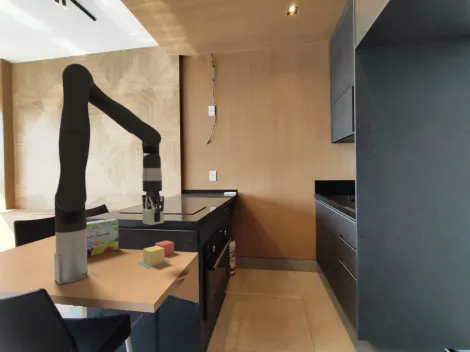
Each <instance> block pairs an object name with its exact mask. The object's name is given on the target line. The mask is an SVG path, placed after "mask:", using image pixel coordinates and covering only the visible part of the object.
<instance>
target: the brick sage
mask: <svg viewBox="0 0 470 352" xmlns="http://www.w3.org/2000/svg"><path fill="white" fill-rule="evenodd" d="M156 209H157V207H156ZM164 210H165V209H164ZM164 210H163V211H161V212H160V222H155V221H154V213H155V212H154V209H153V208H152V209H142V224H144V225H149V226H153V225H158V224H163V223H165V219H164V218H165V215H164V214H165V212H164Z"/></svg>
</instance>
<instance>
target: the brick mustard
mask: <svg viewBox="0 0 470 352" xmlns="http://www.w3.org/2000/svg"><path fill="white" fill-rule="evenodd" d="M142 252H143V254H142V255H143V261H144V263H146V264H148V265H150V266H153V265H156V264H159V263H162V262H165V259H166V258H165V256H166V255H164V248H162V247H159V246H155V245H154V246H149V247H144V248H143V249H142Z"/></svg>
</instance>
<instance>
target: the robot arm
mask: <svg viewBox="0 0 470 352" xmlns="http://www.w3.org/2000/svg"><path fill="white" fill-rule="evenodd" d="M61 77H62V78H61V80H62V97H63V100H62V101H63V102H62V110H61V114H60V124H59V130H58V131H59V133H58V159H59V168H60V169H59V177H58V184H57V189H56V191H55V193H54V230H55V231H54V232H55V235H54V236H55V252H53V253H54V254H53V256H54V257H53V258H54V281H56V283H57V284H58V285H62V284H69V283H74V282H78V281H81V280H84V279H85V278H86V277H88V270H89V269H88V257H87V217H86V216H87V215H86V214H87V213H86V203H87V200H88V199H87V198H88V197H87V186H86V185H87V183H86V182H87V181H86V178H87V177H86V176H87V175H86V171H87V166H88V160H89V155H90V147H91V122H90V113H89V104H91V105H92V106H94V107H95V108H97V109H99V110H100V111H101V112H102V113H103V114H104V115H106V116H108V118H110V119H111V120H113V122H114V123H116V124H117V125H119V127H121V128H122V129H123V130H125V131H126V132H127V133H129V134H131V135H133V136H135V137H136V138H138V139H139V140H140V141H141V149H142V175H141V177H142V182H141V183H142V191H143V192H144V193H145V194H142V195H141V200H142V202H141V203H142V210H144V209H152V208H153V209H154V212H155V213H154V221H155V222H160V212H161V211H163V210H165V209H164V207H165V196H164V195H161V194H160V192H161V191H163V172H162V158H161V156H160V144H161V142H162V136H161V134H160V132H159V131H158V130H156V129H155V127H153V126H151V125H150V124H149V123H147V122H145V121H143V120H142V119H141V118H140V117H139V116H137V115H136V114H135V113H134V112H133V111H131V110H130V109H128V108H127V107H126V106H124V105H123V104H121V103H120V102H118V101H116V100H115V99H113V98H112V97H110V96H108V94H106V93H105V92H104V91H103V90H102V89H101V88H100V87H99V86H98V85H97V84H96V83H95V80H94V77H93V75H92V73H91V72H90V70H89V69H88V68H87V67H86V66H84V65H82V64H81V63H75V62H74V63H70V64H68V65H67V66H65V68H64V69H63V71H62V75H61ZM156 208H157V209H156Z"/></svg>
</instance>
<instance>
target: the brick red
mask: <svg viewBox="0 0 470 352" xmlns="http://www.w3.org/2000/svg"><path fill="white" fill-rule="evenodd" d="M154 246H159V247H162V248H164V255H165V256H168V255H171V254H175V242H173V241H170V240H168V239H167V240H162V241H158V242H155V243H154Z"/></svg>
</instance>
